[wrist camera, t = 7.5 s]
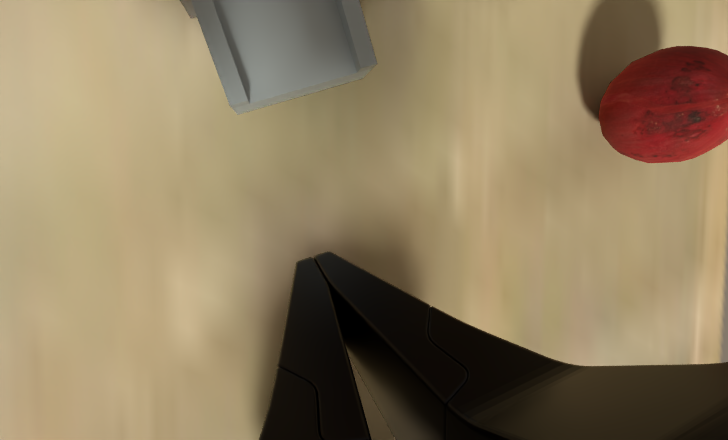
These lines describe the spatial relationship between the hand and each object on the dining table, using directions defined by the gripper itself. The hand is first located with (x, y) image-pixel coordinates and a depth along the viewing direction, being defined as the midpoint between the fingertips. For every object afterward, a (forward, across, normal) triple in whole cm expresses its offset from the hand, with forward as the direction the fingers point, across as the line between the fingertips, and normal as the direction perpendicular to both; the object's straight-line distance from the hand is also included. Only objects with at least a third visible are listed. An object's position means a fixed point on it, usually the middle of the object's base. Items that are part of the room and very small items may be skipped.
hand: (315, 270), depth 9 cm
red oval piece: (+9, -21, +3) cm, 23 cm away
